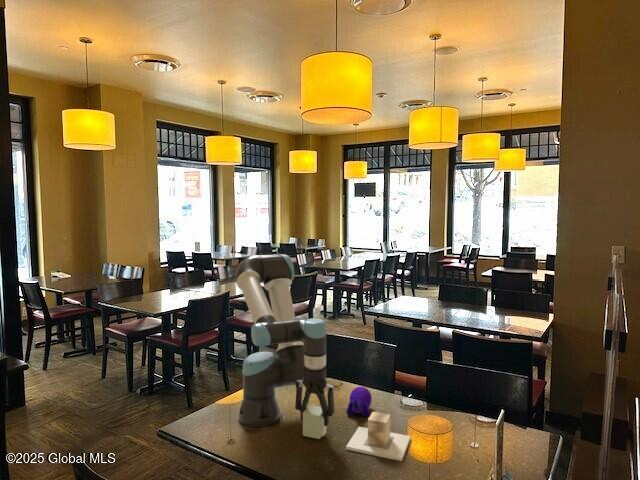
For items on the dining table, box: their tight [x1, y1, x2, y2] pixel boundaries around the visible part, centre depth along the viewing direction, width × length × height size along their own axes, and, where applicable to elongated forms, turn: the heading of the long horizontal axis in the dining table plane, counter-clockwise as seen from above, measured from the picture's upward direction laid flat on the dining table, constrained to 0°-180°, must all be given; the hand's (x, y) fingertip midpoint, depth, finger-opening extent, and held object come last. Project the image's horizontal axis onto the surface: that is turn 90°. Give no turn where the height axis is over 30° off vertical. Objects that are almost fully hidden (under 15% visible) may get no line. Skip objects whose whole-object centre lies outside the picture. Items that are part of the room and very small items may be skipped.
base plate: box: [345, 426, 412, 462], centre depth 145 cm, size 18×14×1 cm
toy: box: [346, 386, 373, 418], centre depth 167 cm, size 9×10×15 cm
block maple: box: [367, 411, 391, 447], centre depth 144 cm, size 6×6×8 cm
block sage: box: [302, 404, 323, 440], centre depth 149 cm, size 6×6×8 cm
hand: (314, 431), depth 149 cm, fingers closed on block sage, 6 cm apart
